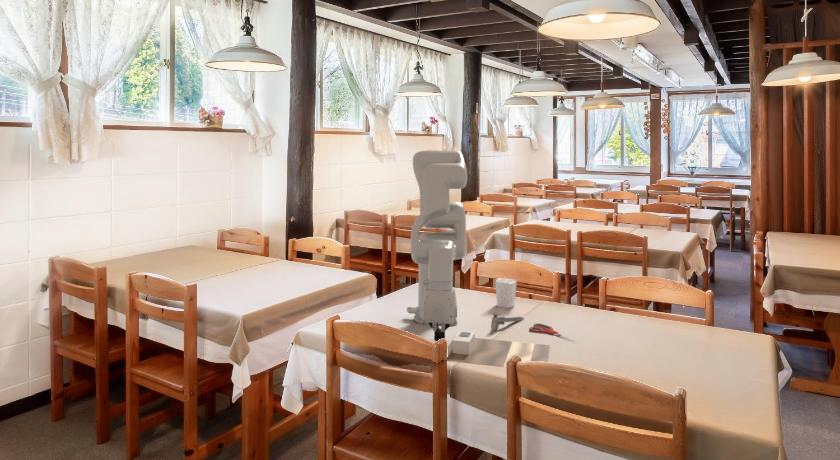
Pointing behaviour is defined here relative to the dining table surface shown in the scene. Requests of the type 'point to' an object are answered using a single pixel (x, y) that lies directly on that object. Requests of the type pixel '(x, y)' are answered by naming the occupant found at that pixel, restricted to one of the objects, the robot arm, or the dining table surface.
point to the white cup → (505, 292)
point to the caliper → (502, 321)
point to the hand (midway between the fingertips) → (439, 342)
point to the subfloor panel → (499, 352)
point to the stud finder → (463, 342)
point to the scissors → (546, 330)
